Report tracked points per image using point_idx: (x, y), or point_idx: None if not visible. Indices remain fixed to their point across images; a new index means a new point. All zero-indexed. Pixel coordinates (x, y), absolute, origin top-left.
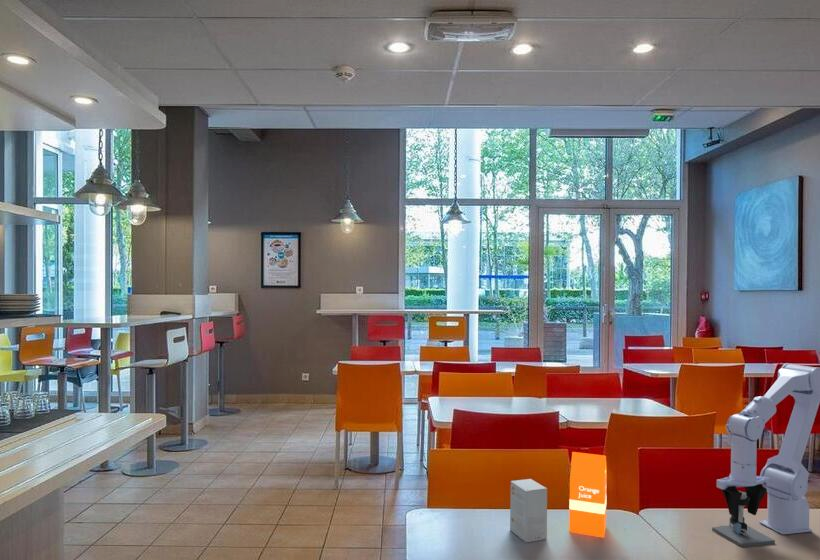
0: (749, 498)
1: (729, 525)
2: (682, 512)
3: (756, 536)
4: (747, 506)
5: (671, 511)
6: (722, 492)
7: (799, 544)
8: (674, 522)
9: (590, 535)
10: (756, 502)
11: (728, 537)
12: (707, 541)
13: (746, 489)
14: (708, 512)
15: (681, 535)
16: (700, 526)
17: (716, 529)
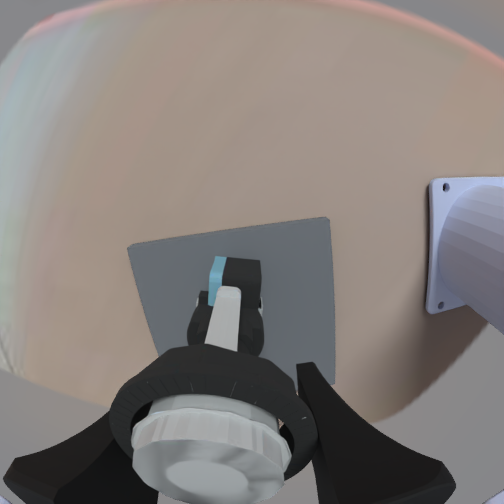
0: (287, 476)
1: (215, 258)
2: (115, 32)
3: (285, 355)
4: (300, 385)
5: (77, 32)
6: (46, 453)
7: (409, 376)
8: (29, 155)
9: None
10: (316, 476)
11: (156, 343)
12: (80, 335)
13: (329, 487)
14: (250, 21)
15: (19, 278)
16: (103, 196)
17: (136, 273)
